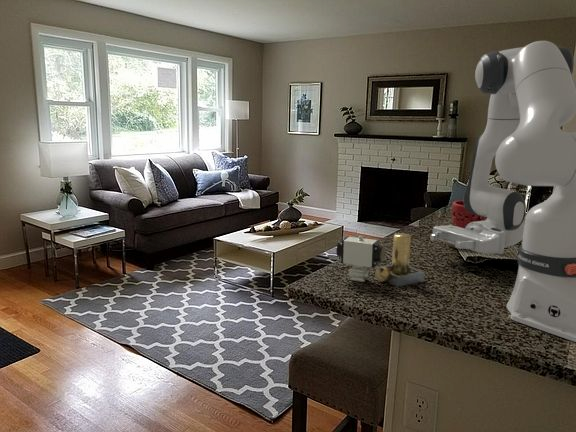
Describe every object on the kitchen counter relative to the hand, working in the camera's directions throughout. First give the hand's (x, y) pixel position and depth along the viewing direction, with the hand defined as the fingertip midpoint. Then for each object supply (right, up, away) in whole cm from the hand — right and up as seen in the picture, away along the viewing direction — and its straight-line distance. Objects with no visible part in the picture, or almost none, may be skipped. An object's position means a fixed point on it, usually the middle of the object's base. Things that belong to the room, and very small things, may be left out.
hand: (444, 241), depth 125 cm
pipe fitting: (-14, -10, -6) cm, 18 cm away
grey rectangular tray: (-14, -10, -6) cm, 18 cm away
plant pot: (+24, 0, +43) cm, 49 cm away
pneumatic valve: (-25, -10, -7) cm, 28 cm away
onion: (+13, -4, +25) cm, 28 cm away
